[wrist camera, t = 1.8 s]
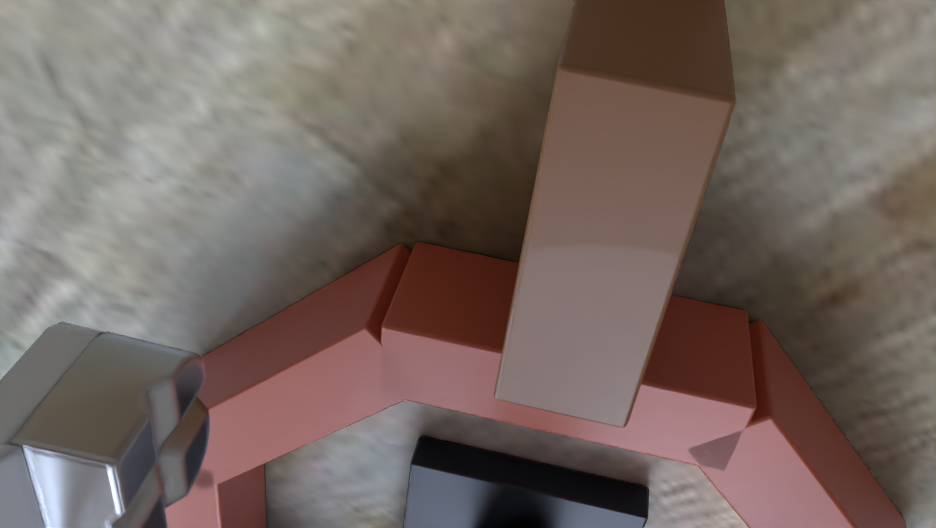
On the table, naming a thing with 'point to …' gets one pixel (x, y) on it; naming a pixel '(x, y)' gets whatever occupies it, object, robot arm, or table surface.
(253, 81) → the table surface
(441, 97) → the table surface
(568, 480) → the peg stand
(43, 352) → the robot arm
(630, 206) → the hoop
